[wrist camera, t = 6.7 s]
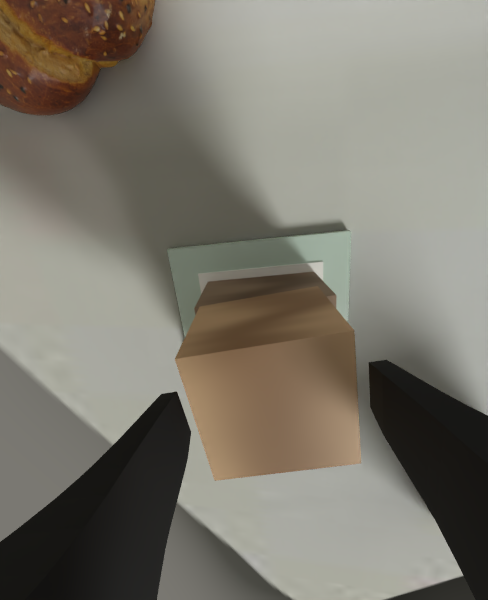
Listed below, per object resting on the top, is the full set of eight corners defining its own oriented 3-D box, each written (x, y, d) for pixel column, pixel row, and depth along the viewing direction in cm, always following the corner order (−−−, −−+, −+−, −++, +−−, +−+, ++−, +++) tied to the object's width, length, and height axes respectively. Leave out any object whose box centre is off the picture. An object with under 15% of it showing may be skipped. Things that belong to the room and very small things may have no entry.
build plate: (348, 230, 14) (352, 231, 14) (343, 380, 18) (346, 386, 17) (169, 248, 15) (166, 250, 14) (198, 391, 18) (196, 397, 18)
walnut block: (314, 271, 15) (336, 295, 11) (315, 362, 17) (334, 409, 13) (207, 281, 15) (194, 308, 11) (221, 370, 17) (214, 417, 13)
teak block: (317, 286, 11) (354, 330, 7) (327, 384, 12) (361, 463, 9) (199, 306, 11) (174, 358, 7) (224, 399, 13) (214, 480, 9)
